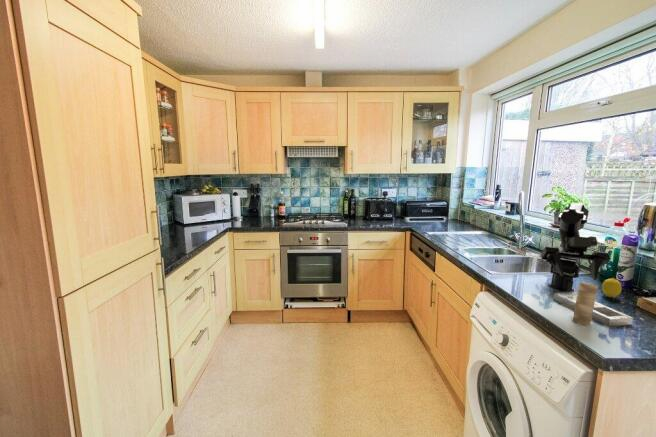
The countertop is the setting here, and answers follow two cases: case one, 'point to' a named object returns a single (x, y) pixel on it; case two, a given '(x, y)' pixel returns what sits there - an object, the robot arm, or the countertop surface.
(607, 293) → the lemon
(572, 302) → the beige slotted board
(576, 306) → the peg
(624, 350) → the countertop surface
